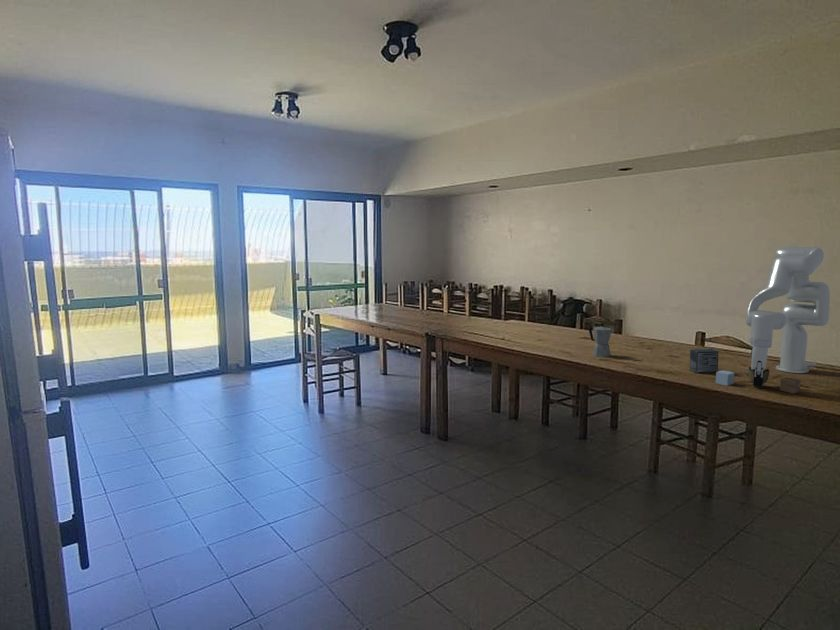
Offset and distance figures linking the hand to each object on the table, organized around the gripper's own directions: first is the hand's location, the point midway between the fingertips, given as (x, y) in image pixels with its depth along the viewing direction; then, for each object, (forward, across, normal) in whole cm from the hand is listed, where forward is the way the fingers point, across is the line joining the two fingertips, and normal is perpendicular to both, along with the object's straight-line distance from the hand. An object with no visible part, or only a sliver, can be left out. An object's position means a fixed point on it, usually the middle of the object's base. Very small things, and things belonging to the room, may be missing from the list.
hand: (757, 384), depth 214 cm
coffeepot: (+2, -31, -73) cm, 80 cm away
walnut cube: (+2, 0, +11) cm, 11 cm away
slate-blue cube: (+2, 0, -12) cm, 12 cm away
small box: (+2, -18, -22) cm, 29 cm away
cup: (+2, 0, 0) cm, 2 cm away
